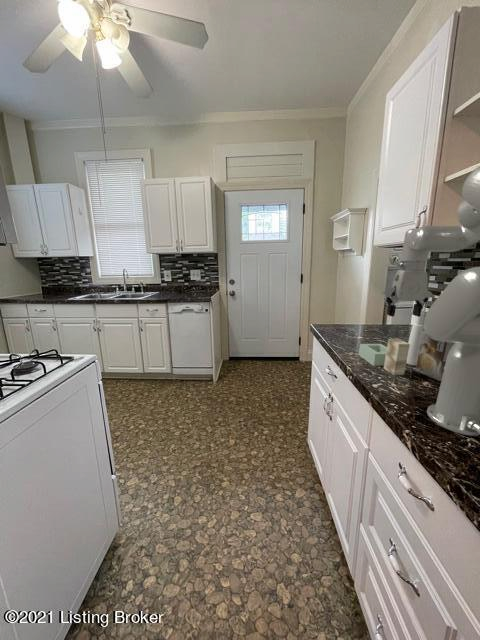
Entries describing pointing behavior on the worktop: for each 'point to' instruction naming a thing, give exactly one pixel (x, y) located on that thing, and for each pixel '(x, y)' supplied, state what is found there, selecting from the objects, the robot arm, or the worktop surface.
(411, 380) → the worktop surface
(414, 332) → the cosmetic bottle
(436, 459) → the worktop surface
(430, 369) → the coffee box
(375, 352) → the end cap
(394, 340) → the beige rectangular block
